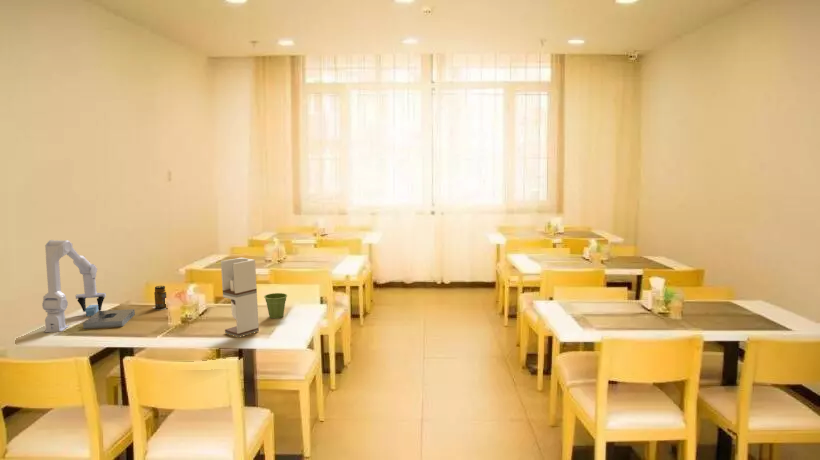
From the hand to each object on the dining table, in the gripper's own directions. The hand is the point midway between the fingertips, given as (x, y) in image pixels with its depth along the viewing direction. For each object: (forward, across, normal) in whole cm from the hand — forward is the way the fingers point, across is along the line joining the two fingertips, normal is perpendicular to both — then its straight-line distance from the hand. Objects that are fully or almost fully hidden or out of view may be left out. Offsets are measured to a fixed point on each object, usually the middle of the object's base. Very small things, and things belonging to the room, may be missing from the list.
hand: (92, 310), depth 321 cm
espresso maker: (+2, -83, +51) cm, 97 cm away
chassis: (+2, -14, +17) cm, 22 cm away
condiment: (+2, -34, -5) cm, 34 cm away
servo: (+2, 0, 0) cm, 2 cm away
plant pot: (+2, -98, +27) cm, 102 cm away
